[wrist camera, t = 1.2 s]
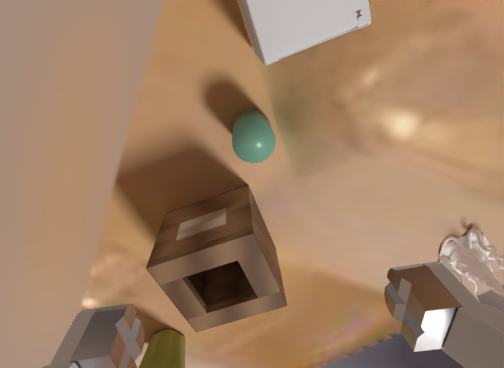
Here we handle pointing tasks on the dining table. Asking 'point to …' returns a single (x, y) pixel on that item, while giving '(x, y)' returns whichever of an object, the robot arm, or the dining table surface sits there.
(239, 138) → the teal rounded cylinder
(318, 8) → the small box
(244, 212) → the ticket box
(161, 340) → the plant pot
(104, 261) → the dining table surface
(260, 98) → the dining table surface
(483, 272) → the white tentacle figurine
